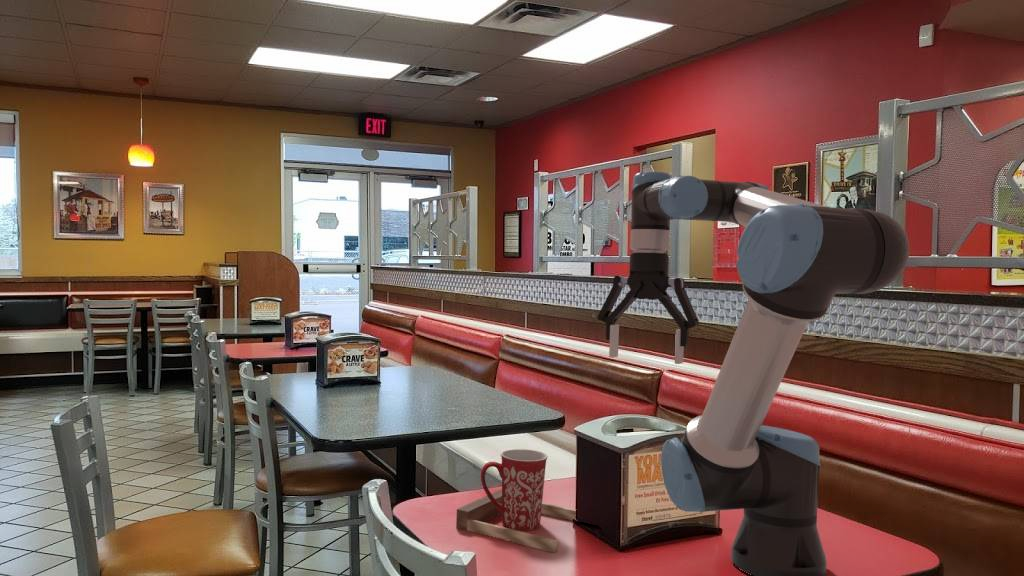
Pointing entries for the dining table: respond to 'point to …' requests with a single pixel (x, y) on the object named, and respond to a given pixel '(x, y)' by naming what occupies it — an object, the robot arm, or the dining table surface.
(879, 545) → the dining table surface
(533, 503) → the mug
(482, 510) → the channel
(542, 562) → the dining table surface
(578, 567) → the dining table surface
